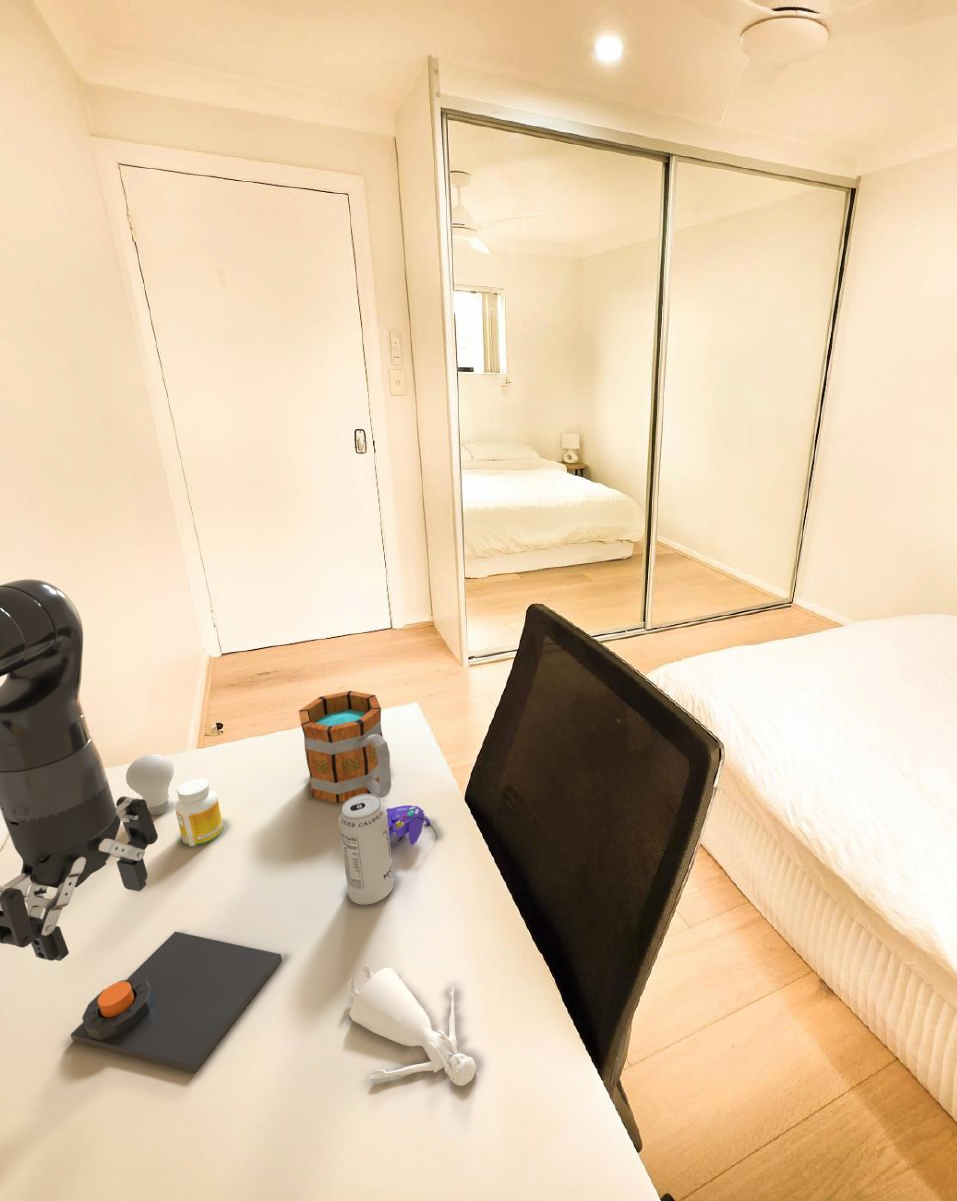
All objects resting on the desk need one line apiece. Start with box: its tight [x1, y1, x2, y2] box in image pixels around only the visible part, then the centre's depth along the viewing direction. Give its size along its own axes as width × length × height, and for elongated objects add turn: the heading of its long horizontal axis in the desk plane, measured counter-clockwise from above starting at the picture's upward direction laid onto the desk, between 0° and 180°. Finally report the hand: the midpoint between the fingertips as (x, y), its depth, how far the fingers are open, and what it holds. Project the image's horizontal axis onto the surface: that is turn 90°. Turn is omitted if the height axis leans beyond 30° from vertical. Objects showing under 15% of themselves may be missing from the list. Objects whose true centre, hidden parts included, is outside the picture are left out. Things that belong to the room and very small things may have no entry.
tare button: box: [98, 981, 134, 1018], centre depth 64 cm, size 3×3×2 cm
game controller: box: [386, 804, 438, 845], centre depth 92 cm, size 10×8×10 cm
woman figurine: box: [346, 964, 477, 1087], centre depth 65 cm, size 12×4×18 cm
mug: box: [298, 690, 392, 804], centre depth 102 cm, size 20×14×15 cm
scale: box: [70, 931, 283, 1074], centre depth 67 cm, size 15×13×4 cm
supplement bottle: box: [174, 778, 224, 847], centre depth 91 cm, size 5×5×10 cm
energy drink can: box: [337, 793, 395, 906], centre depth 81 cm, size 6×6×15 cm
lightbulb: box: [125, 753, 175, 816], centre depth 95 cm, size 6×6×11 cm
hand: (98, 920), depth 61 cm, fingers open, 8 cm apart
